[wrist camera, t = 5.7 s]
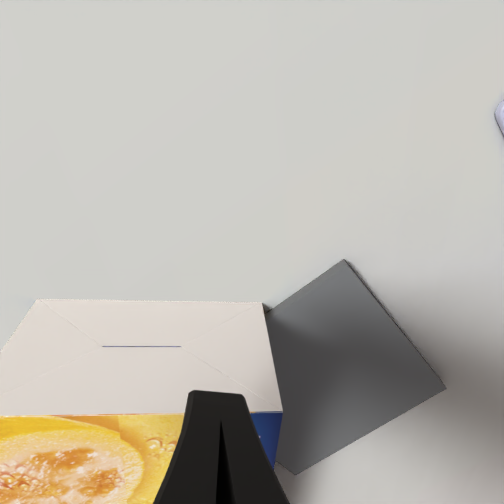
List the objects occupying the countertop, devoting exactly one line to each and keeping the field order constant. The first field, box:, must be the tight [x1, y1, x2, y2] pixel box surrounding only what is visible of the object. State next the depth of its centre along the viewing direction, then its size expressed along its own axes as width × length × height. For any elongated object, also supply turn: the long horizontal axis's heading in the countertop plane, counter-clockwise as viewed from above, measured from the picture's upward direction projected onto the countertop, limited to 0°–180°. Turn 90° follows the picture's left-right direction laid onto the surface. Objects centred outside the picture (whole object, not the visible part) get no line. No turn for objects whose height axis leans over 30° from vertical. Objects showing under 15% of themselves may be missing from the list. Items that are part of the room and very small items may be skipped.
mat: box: [264, 259, 446, 475], centre depth 23 cm, size 11×11×1 cm
